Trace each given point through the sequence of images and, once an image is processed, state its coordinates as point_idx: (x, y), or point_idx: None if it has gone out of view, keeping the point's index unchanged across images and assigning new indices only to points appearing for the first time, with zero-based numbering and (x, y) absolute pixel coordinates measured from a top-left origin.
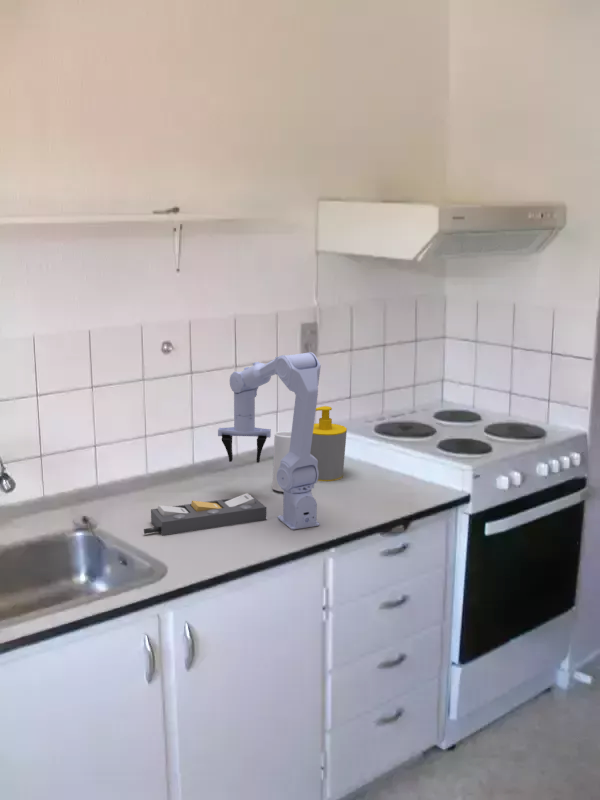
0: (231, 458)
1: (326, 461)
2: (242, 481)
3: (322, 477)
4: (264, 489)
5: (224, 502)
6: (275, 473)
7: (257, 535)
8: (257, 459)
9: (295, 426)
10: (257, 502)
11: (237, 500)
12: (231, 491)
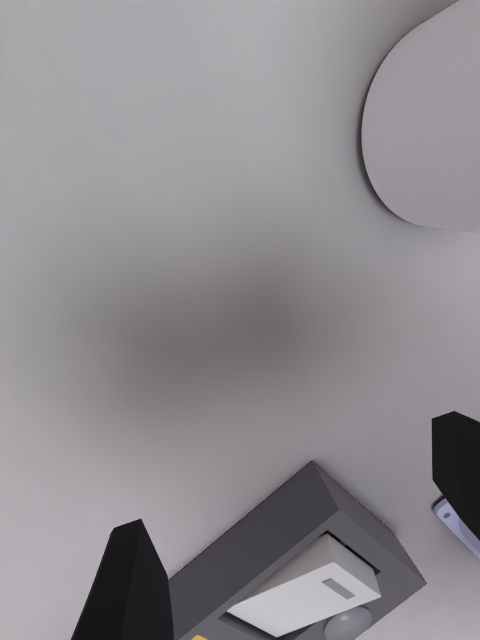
0: (171, 624)
1: None
2: (76, 11)
3: None
4: (306, 169)
5: (230, 610)
6: (472, 211)
7: (386, 629)
8: (469, 514)
9: None
10: (383, 563)
11: (296, 603)
12: (110, 288)
